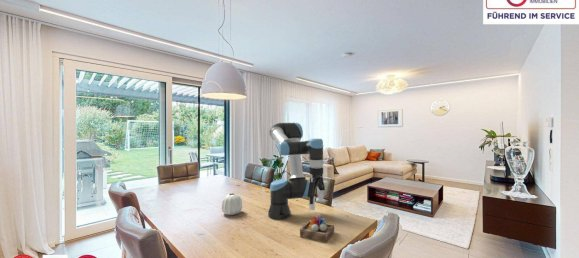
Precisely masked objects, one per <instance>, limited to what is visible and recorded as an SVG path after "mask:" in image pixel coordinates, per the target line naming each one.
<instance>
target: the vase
mask: <svg viewBox="0 0 579 258" xmlns="http://www.w3.org/2000/svg"><path fill="white" fill-rule="evenodd" d="M242 210H243V200H242V198H241V196H240V195H239V194H237V193H234V192H233V193H228V194H226V195H225V196H224V197H223V200H222V203H221V212H222V213H223V214H224V215H227V216H234V215H237V214H239V213H241V212H242Z"/></svg>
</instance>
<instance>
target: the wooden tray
mask: <svg viewBox="0 0 579 258" xmlns="http://www.w3.org/2000/svg"><path fill="white" fill-rule="evenodd" d="M326 224H327V226H326V227H327V228H326V230H325V231H320V229H318V231H317V232H316V231H312V229H311V228H310V227H309V225H310V220H307V222H306V223H305V224H304V225H303V226H301V227H300V229H299V237H300V238H304V239H308V240H311V241H317V242H321V243H328V241H330V239H332V236H333V235H334V234H335V224H332V223H326ZM318 227H319V226H318Z"/></svg>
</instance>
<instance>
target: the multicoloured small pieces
mask: <svg viewBox="0 0 579 258" xmlns="http://www.w3.org/2000/svg"><path fill="white" fill-rule="evenodd" d="M309 221H310V225H309V227H310V228H311V229H312V231H316V232H317V231H318V229H320V231H325V230H326V228H327V227H326V226H327V224H328V223H326V218H324V217H323V218H321V216H320V215H318V216H317V218H316V216H313V219H309ZM318 226H319V227H318Z"/></svg>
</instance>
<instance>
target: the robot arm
mask: <svg viewBox="0 0 579 258" xmlns="http://www.w3.org/2000/svg"><path fill="white" fill-rule="evenodd" d="M303 133H304V131H303V126H302V125H301V124H300V123H299V122H278V123H275V124H274V125H272V126H271V127H270V129H269V136H270V138H271V139H272V140H273V141H275V143H276V144H277V145H278V146H277V152H278V154H279V155H280V156H288V161H289V170H290V171H289V172H290V177H289V179H285V178H284V179H281V178H280V179H276V180H274V181H272V182H271V183H270V186H269V188H270V189H269V193H270V205H269V208H268V214H267V215H268V216H267V217H268V219H269V218H270V219H272V220H278V221H279V220H285V219H289V218H291V215H292V212H291V209H290V206H289V200H295V199H302V198H308V200H309V201H308V203H309V205H308V206H309V207H308V208H309V210H311V211H315V210H316V209H315V208H316V204H315V203H316V202H315V193H316V190H317V188H318V190H317V191H318V194H317V195H318V201H317V202H319V203H324V191H325V190H326V189H325V183H324V163H325V161H324V140H323V139H322V138H310V139H309V140H304V141H303V140H302V138H303V135H304V134H303ZM301 140H302V141H301ZM302 155H309V159H308V164H309V165H308V167H309V172H308V173H309V175H311V177H310V178H309V180H308V179H306V178H307V177H306V176H305V175H304V171H303V163H302Z"/></svg>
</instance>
